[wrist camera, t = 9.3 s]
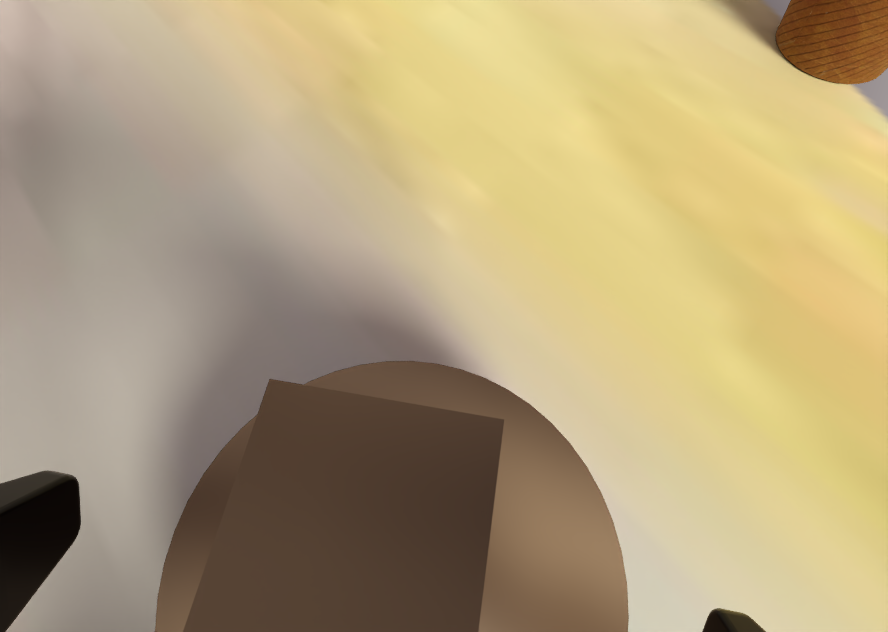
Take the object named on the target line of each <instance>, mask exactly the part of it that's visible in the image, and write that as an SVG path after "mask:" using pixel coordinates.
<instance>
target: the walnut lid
mask: <svg viewBox="0 0 888 632" xmlns="http://www.w3.org/2000/svg"><path fill="white" fill-rule="evenodd" d="M628 619H629V617H628V596H627V581H626V575H625V569H624V563H623V557H622V551H621V548H620V544H619V541H618V537H617V534H616V530H615V527H614V523H613V520H612V518H611V515H610V513H609V510H608V508H607V506H606V503H605V501H604V498H603V496H602V494H601V491H600V490H599V488H598V486H597V484H596V482H595V481H594V479H593V477H592V475H591V473H590V472H589V470H588V468H587V466H586V465H585V463H584V462H583V461H582V459H581V458H580V457H579V455H578V454H577V452H576V451H575V450H574V448H573V447H572V445H571V444H570V443H569V442H568V441H567V439H566V438H565V437H564V436H563V435H562V434H561V433H560V432H559V431H558V430H557V429H556V427H555V426H554V425H553V424H552V423H551V422H550V421H549V420H548V419H546V418H545V417H544V416H543V415H542V414H541V413H539V412H538V411H537V410H536V409H535V408H534V407H532V406H531V405H530V404H529V403H527V402H526V401H524V400H523V399H521V398H520V397H518V396H517V395H515V394H514V393H512V392H511V391H509V390H507V389H505V388H503V387H501V386H500V385H498V384H496V383H494V382H492V381H490V380H488V379H486V378H483V377H480V376H478V375H475V374H472V373H469V372H467V371H464V370H461V369H457V368H453V367H448V366H444V365H440V364H434V363H424V362H415V361H386V362H378V363H371V364H364V365H358V366H354V367H351V368H347V369H343V370H339V371H335V372H333V373H330V374H327V375H325V376H322V377H320V378H317V379H315V380H312V381H310V382H308V383H306V384H304V385H302V384H296V383H290V382H284V381H278V380H273V379H269V382H268V385H267V388H266V391H265V394H264V397H263V400H262V403H261V406H260V409H259V411H258V414H257V416H255V417H254V418H253V419H252V420H251V421H250V422H248V423H247V424H246V425H245V426H244V427H243V428H242V429H241V430H240V431H239V432H238V433H237V434H236V435H235V436H234V437H233V438H232V439H231V440H230V441H229V442H228V444H227V445H226V446H225V447H224V448H223V449H222V450H221V451H220V453H219V454H218V455H217V457H216V458H215V460H214V461H213V462H212V464H211V465H210V466H209V468H208V469H207V470H206V472H205V473H204V474H203V476H202V478H201V479H200V481H199V483H198V485H197V486H196V488H195V490H194V491H193V493H192V495H191V497H190V498H189V500H188V502H187V504H186V506H185V509H184V511H183V513H182V515H181V518H180V520H179V522H178V524H177V527H176V529H175V531H174V534H173V537H172V541H171V544H170V547H169V550H168V553H167V556H166V560H165V563H164V567H163V572H162V578H161V583H160V588H159V593H158V599H157V613H156V626H155V632H628Z"/></svg>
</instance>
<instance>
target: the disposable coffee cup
mask: <svg viewBox="0 0 888 632" xmlns="http://www.w3.org/2000/svg"><path fill="white" fill-rule="evenodd" d="M776 42H777V45H778V47H779V49H780V51H781V53H782V54H783V55H784V56H785V57H786V59H788V60H789V61H790V62H791V63H792V64H794V65H795V66H796V67H798V68H799V69H801V70H802V71H804V72H806V73H808V74H810V75H812V76H815V77H817V78H820V79H824V80H827V81H831V82H835V83H843V84H860V83H864V82H868V81H871V80H873V79H876V78H877V77H878V76H879V75H881V74H882V73H883V72H884V71H885V70H886V69H887V68H888V0H791V1H790V3H789V5H788V8H787V10H786V12H785V14H784V16H783V19H782V21H781V23H780V25H779V27H778V29H777V32H776Z"/></svg>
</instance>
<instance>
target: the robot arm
mask: <svg viewBox="0 0 888 632" xmlns="http://www.w3.org/2000/svg"><path fill="white" fill-rule="evenodd" d="M80 525H81V515H80V495H79V483H78V481H77V479H76V477H74V476H72V475H69V474H64V473H59V472H55V471H42V472H38V473H35V474H32V475H28V476H25V477H21V478H18V479H15V480H11V481H8V482H5V483H1V484H0V632H5V631H6V630H7V629H8V628H9V626H10V625H11V624H12V623H13V621H14V620H15V619H16V617H17V616H18V615H19V613H20V612H21V611H22V609H23V608H24V607H25V606H26V604H27V603H28V602H29V600H30V599H31V598H32V596H33V595H34V594H35V592H36V591H37V590H38V588H39V587H40V586H41V584H42V583H43V582H44V581H45V579H46V578H47V577H48V575H49V574H50V573H51V571H52V570H53V569H54V567H55V566H56V565H57V563H58V562H59V561H60V559H61V558H62V557H63V556H64V554H65V553H66V552H67V550H68V549H69V548H70V546H71V545H72V544H73V542H74V541H75V539H76V537H77V535H78V532H79V530H80ZM703 632H766V631H765V630H763V629H762V628H761V627H760V626H759V625H758V624H757V623H756V622H755V621H754V620H753V619H751V618H750V617H749V616H748V615H746V614H743V613H740V612H735V611H730V610H725V609H720V608H717V609H714V610H712V611H711V612H710V614H709V616H708V618H707V621H706V623H705V626H704V629H703Z"/></svg>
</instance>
